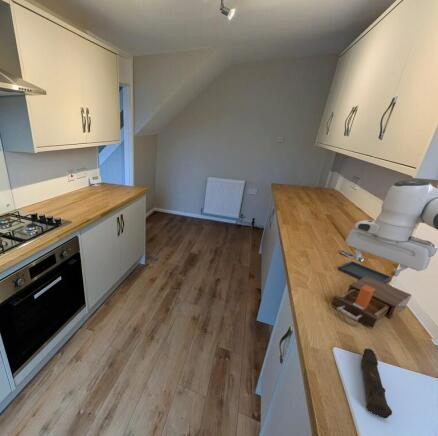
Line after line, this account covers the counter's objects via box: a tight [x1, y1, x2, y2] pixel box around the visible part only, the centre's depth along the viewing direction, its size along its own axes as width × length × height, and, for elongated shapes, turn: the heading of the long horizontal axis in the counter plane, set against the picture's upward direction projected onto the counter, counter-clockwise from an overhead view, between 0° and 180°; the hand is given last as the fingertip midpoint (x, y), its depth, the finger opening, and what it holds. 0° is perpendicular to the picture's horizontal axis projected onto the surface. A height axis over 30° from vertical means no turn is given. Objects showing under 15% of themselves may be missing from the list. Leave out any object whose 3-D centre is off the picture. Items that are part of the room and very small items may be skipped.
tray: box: [337, 260, 393, 284], centre depth 109 cm, size 15×12×2 cm
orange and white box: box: [353, 285, 375, 310], centre depth 84 cm, size 3×6×8 cm, turn 117°
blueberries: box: [340, 249, 357, 259], centre depth 126 cm, size 7×8×2 cm
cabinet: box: [346, 276, 412, 320], centre depth 91 cm, size 14×14×6 cm
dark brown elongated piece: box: [360, 348, 393, 419], centre depth 61 cm, size 19×4×5 cm, turn 143°
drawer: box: [330, 289, 390, 329], centre depth 85 cm, size 17×12×4 cm
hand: (375, 267), depth 81 cm, fingers open, 8 cm apart
